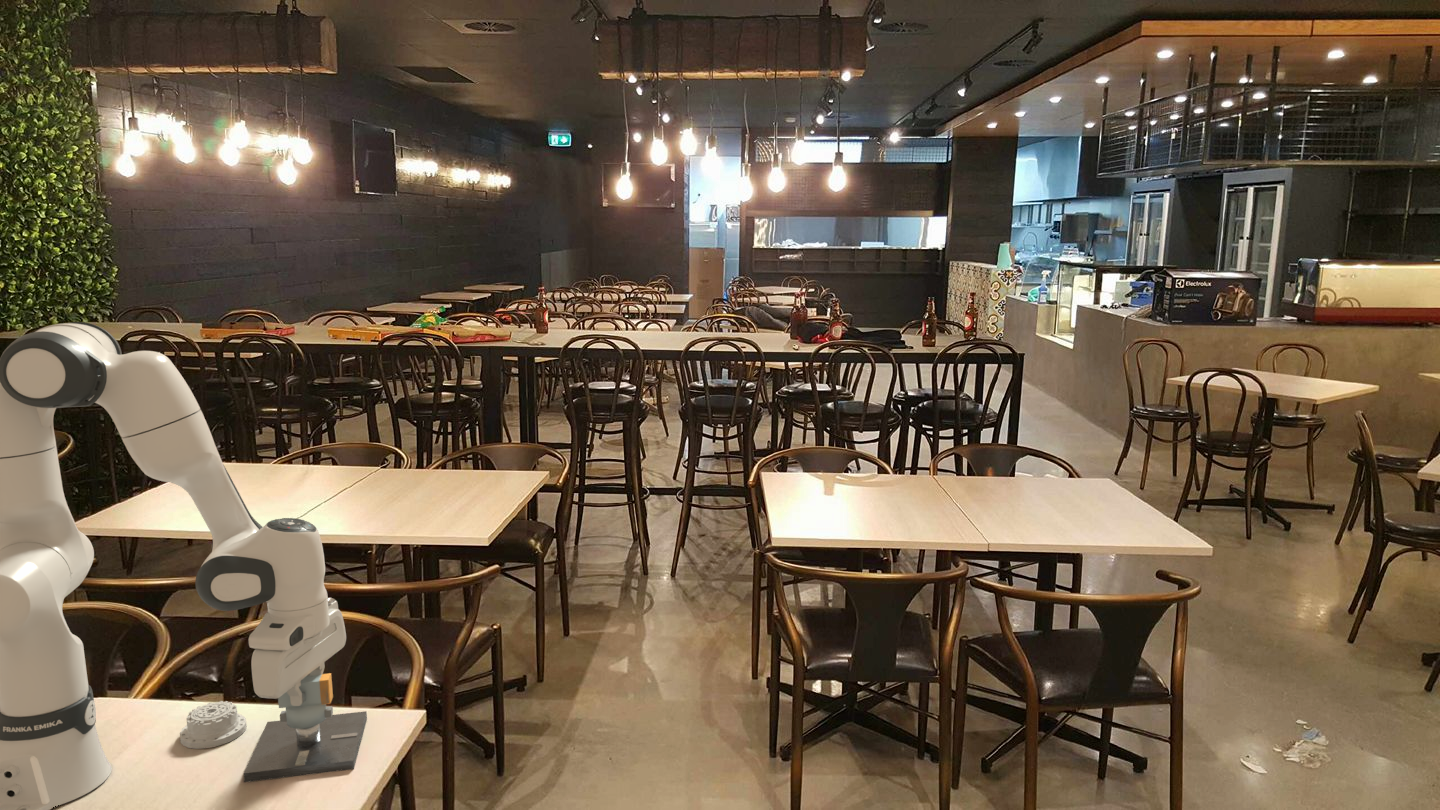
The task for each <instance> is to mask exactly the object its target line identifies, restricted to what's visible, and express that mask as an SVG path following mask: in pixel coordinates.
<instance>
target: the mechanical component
mask: <svg viewBox="0 0 1440 810" xmlns="http://www.w3.org/2000/svg"><path fill="white" fill-rule="evenodd" d="M247 726H248V725H247V719H246V717H245V716H244V715H243V714H240V713H238V708H237V705H235V704H233V702H232V701H227V700H225V701H223V700H220V701H218V702H208V703H207V704H204V705H202V706H196V708H193V709H192V710H191V711H189V712H188V715H187V716H186V725H185V726H184V727H183V728H181V730H180V732H179V739H180V740H179V742H180V744H181V745H182V746H183V747H186V748H188V749H197V750H198V749H200V750H201V749H208V748H209V749H211V748H214V747H218V746H222V745H225V744H227V743H230V742H232V741H234V740H236V739H237V738H239V737H240V736H241V735H242V734H244V732H246V730H247Z"/></svg>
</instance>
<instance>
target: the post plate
mask: <svg viewBox="0 0 1440 810" xmlns="http://www.w3.org/2000/svg"><path fill="white" fill-rule="evenodd" d="M367 720H368V713H367V710H365V711H364V710H363V711H357V712H356V711H355V712H349V713H348V712H347V713H337V714H336V713H335V714H332V717H327V718H326V719H325V720H324V721H323V722H321V723H320V724H318V725H315V726H312V727H309V728H302V729H296V728H291V727H289V726H288V725H287V722H280V720H272V721H267V722H266V725H265V727H264V728H263V731H262V732H261V735H260V737H259V739H258V742H257V743H256V745H255V748H254V750H253V753H252V754H251V757H250V758H249V761H248V763H247V764H246V767H245V769H244V771H243V783H250V782H257V781H266V780H273V779H275V780H276V779H281V778H291V777H298V776H306V775H316V774H324V773H331V772H332V773H333V772H334V773H335V772H340V771H347V770H348V771H349V770H354V769H355V766H356V762H357V759H358V755H359V751H360V747H361V743H362V740H363V736H364V733H365V728H366V723H367V722H368V721H367Z"/></svg>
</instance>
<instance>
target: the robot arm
mask: <svg viewBox="0 0 1440 810" xmlns="http://www.w3.org/2000/svg"><path fill="white" fill-rule="evenodd" d="M93 404H97V405H99V406H101V407H102V408H104V410H105V411H106V412H107V413H108V414H109V417H110V418H111V419H112V421H113V423H114V425H115V427H116V429H117V431H118V434H119V436H120V438H121V440H122V442H123V444H124V446H125V449H126V450H127V452H128V455H130V457H131V458H132V460H133V461H134V463H135V464H136V465H137V466H138V468H139V469H140V470H141V471H142V473H144V475H145V476H148V477H149V478H151V479H154V480H156V481H159V482H160V481H161V482H165V483H171V484H174V485H176V486H178V487H180V488H181V489H183V490H184V491H185V492H187V493H188V495H189V497H190V498H191V499H192V501H193V503H194V505H195V506H196V508H197V510H198V511H199V513H200V515H201V518H203V521H204V522H205V524H206V526H207V528H208V529H209V532H210V534H211V537H212V550H211V552H210V553H209V555H208V556H207V557H206V559H205V560H204V561H203V563H202V564H201V566H200V568H199V569H198V571H197V573H196V576H195V584H194V585H195V590H196V592H197V594H198V596H199V598H200V599H201V600H202V601H203V602H204V603H205V604H206V605H207V606H209V607H210V608H212V609H216V610H218V611H222V612H223V611H224V612H229V611H230V612H232V611H237V610H241V609H247V608H251V607H254V606H259V605H261V604H263V603H266V604H267V612H266V613H264V615H263V617H262V619H261V621H260V622H259V623H258V625H257V626H256V628H255V629H253V631H251V633H250V634H249V636H248V646H249V648H251V649H254V650H253V652H252V656H251V662H250V663H251V665H250V666H251V678H252V685H253V691H254V694H255V695H256V696H258V697H259V698H263V699H275V700H278V698H279V697H281V696H282V695H283V694H284V693H286V692H287V693H288V694H289V696H290V702H291V705H293V706H300V705H301V704H303V703H304V702H305V701H306V698H305V696H306V695H305V692H301V691H300V689H299V686H301V680H302V679H303V678H305V677H306V676H312V675H322V674H324V671H325V663H326V661H328V660H329V659H330V658H332V657H333V656H334V655H335V654H337V653H338V652H339V651H340V650H342V649H343V648H344V647H345V645H346V642H347V633H346V627H345V621H344V617H343V613H342V611H341V610H340V609H339V604H338V603H339V602H338V600H336V599H335V598H332V597H328V591H327V589H326V587H325V581H324V580H325V575H326V564H325V563H326V562H325V553H324V546H323V543H322V542H323V541H322V538H321V535H320V532H319V530H318V529H317V527H316V526H315V525H314V524H312V523H311V522H309V521H307V520H304V519H301V518H294V517H290V518H289V517H282V518H278V519H277V518H275V519H271V520H270V521H268V522H266V524H265V525H264V526H263V525H261V524H260V523H259V522H258V521H257V520H256V519H255V518H254V517H253V516H252V514H251V513H250V510H249V509H248V507H247V505H246V504H245V502H244V499H243V498H242V496H241V494H240V492H239V491H238V489H237V487H236V485H235V483H234V481H233V480H232V477H231V475H230V474H229V472H228V470H227V468H226V466H225V465H224V462H223V460H222V458H221V456H220V453H219V451H218V449H217V446H216V443H215V441H214V438H213V435H212V433H211V430H210V427H209V425H208V423H207V420H206V419H205V416H204V413H203V411H202V409H201V407H200V404H199V403H198V401H197V399H196V397H195V396H194V393H193V392H192V390H191V388H190V385H188V383H187V382H186V379H184V377H183V376H182V374H181V373H180V371H179V370H178V369H177V367H176V365H174V363H173V362H172V360H171V359H170V358H169V357H168V356H166V355H165V354H163V353H161V352H158V351H153V350H137V351H132V352H128V353H125V354H122V349H121V347H120V344H119V342H118V341H117V339H116V338H115V336H113V335H112V334H111V333H110V332H109V331H107V329H105V328H103V327H101V326H98V325H97V324H96V325H95V324H94V323H89V322H84V321H71V322H67V323H57V324H52V325H51V324H50V325H48V326H47V325H46V326H44V327H41V328H39V329H37V330H35V331H33V332H30V333H27V334H24V335H21V336H19V337H18V338H17V339H15V340H14V341H12V342H11V343H10V344H9V345H8V346H7V347H6V348H5V349H4V351H3V352H2V354H1V356H0V810H52V809H53V807H54V808H56V807H59V806H60V805H64V804H67V803H69V802H72V801H74V800H76V799H79V798H81V797H83V796H85V795H86V794H88V793H90V792H92V791H93V790H95V789H96V788H98V787H99V786H100V785H102V784H103V783H104V782H105V781H106V780H108V778H109V776H110V775H111V773H112V764H111V763H110V761H109V760H108V757H107V756H106V753H105V751H104V749H103V747H102V743H101V741H100V738H99V734H98V731H97V727H96V723H97V711H96V702H95V699H94V693H93V689H92V686H91V685H89V680H88V674H87V673H88V672H87V665H86V658H85V657H86V656H85V650H84V649H85V648H84V643H83V641H82V640H81V638H80V637H78V636H77V635H75V634H73V633H72V632H71V630H70V628H69V626H68V624H67V621H66V619H65V616H64V613H63V606H64V605H63V603H64V599H65V598H66V597H68V595H70V594H71V593H72V592H74V590H76V589H77V588H78V587H79V586H80V585H81V584H82V583H83V582H84V580H85V579H86V577H87V575H88V574H89V572H90V570H91V567H92V565H93V563H94V558H95V550H94V547H93V544H92V542H91V540H90V539H89V537H88V536H87V535H85V533H83V532H82V531H80V530H79V529H78V527H77V524H76V522H75V519H74V517H73V515H72V513H71V510H70V507H69V506H68V501H67V500H66V497H65V493H64V487H63V480H62V475H61V467H60V463H59V462H60V460H59V455H58V447H57V440H56V435H55V429H54V415H55V413H56V410H57V409H60V408H61V409H63V408H76V407H77V408H78V407H90V406H92V405H93ZM58 805H59V806H58ZM55 806H56V807H55Z"/></svg>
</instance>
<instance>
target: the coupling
mask: <svg viewBox="0 0 1440 810" xmlns="http://www.w3.org/2000/svg"><path fill="white" fill-rule="evenodd" d="M332 678H333V677H332V673H330V672H329V673H323V674H322V675H312V676H310V675H307V676H306V677H305V678H303V679H302V680H301V686H299V689H300V691H301V692H305V695H306V696H305V698H306V701H305V702H304V703H303V704H301V705H300V706H293V705H291V702H290V696H289V694H288V693H287V692H286V693H284V694H283V695H282V696H281V697H279V698H277V705H278V709H284V708H285V710H281V712H280V714H279V721H280V722H287V725H288V726H289V727H291V728H296V729H302V728H309V727H312V726H315V725H318V724H320V723H321V722H323V721H324V720H325V719H326V718H327V717H332V715H334V712H333V710H334V709H333V706H332V705H331V704H332V701H333V698H334V694H333V681H332ZM327 705H331V706H327Z"/></svg>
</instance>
